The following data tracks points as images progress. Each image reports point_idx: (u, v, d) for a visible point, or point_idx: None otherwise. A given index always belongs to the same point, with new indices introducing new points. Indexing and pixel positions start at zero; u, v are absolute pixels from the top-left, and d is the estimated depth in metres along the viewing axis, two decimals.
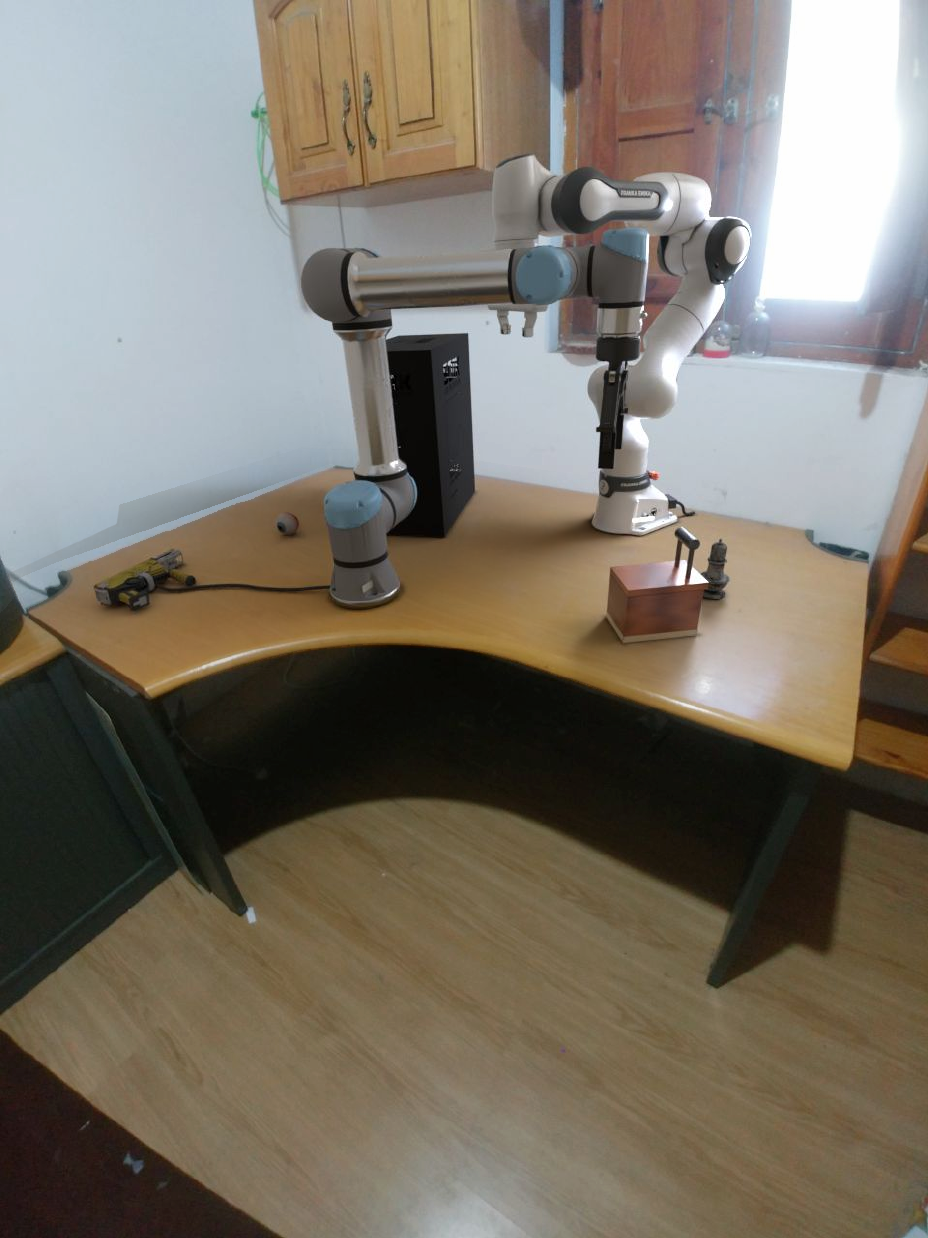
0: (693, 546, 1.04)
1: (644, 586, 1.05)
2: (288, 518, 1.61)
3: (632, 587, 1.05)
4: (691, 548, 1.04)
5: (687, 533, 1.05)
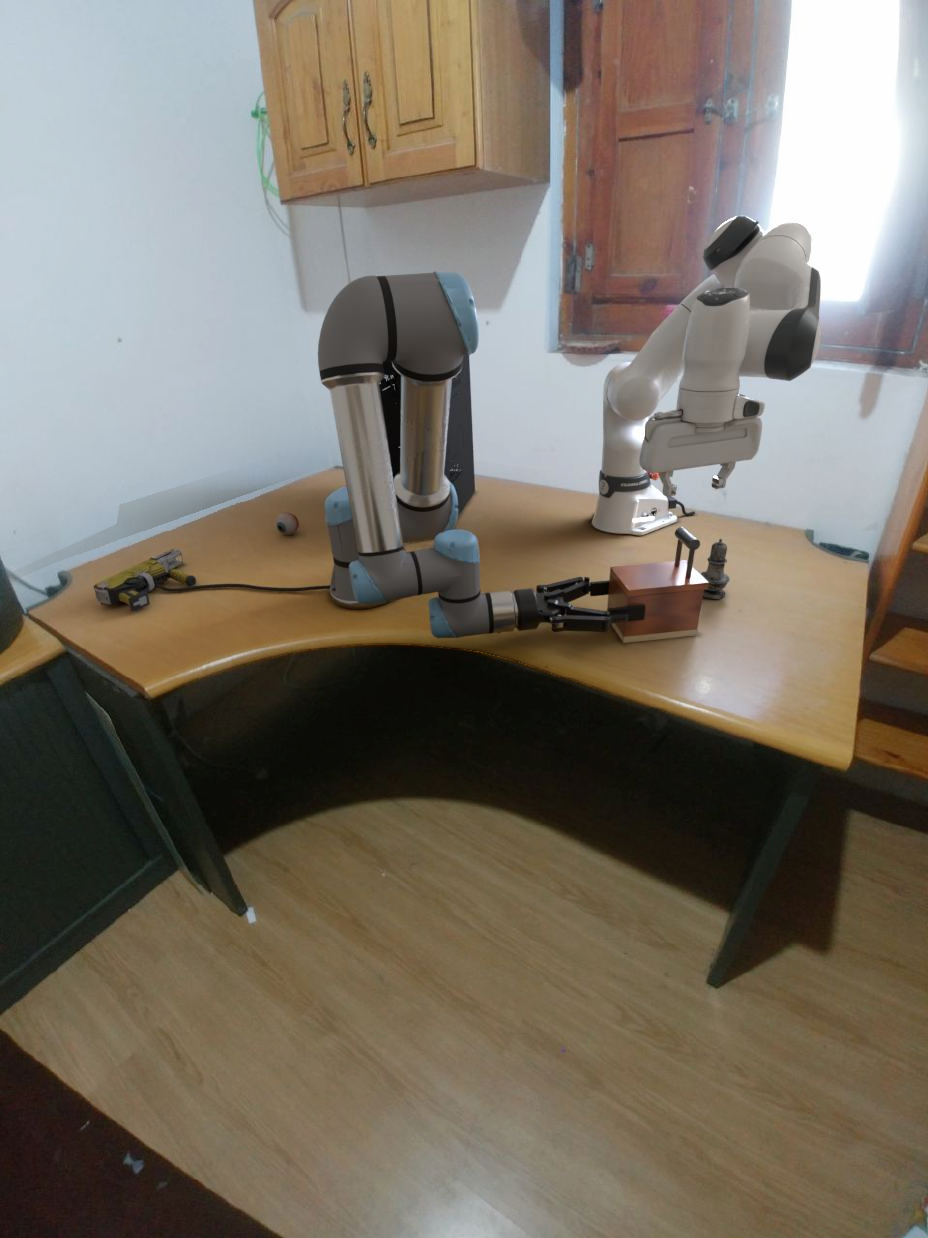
0: (694, 546, 1.04)
1: (644, 586, 1.05)
2: (288, 518, 1.61)
3: (632, 587, 1.05)
4: (691, 548, 1.04)
5: (687, 533, 1.05)
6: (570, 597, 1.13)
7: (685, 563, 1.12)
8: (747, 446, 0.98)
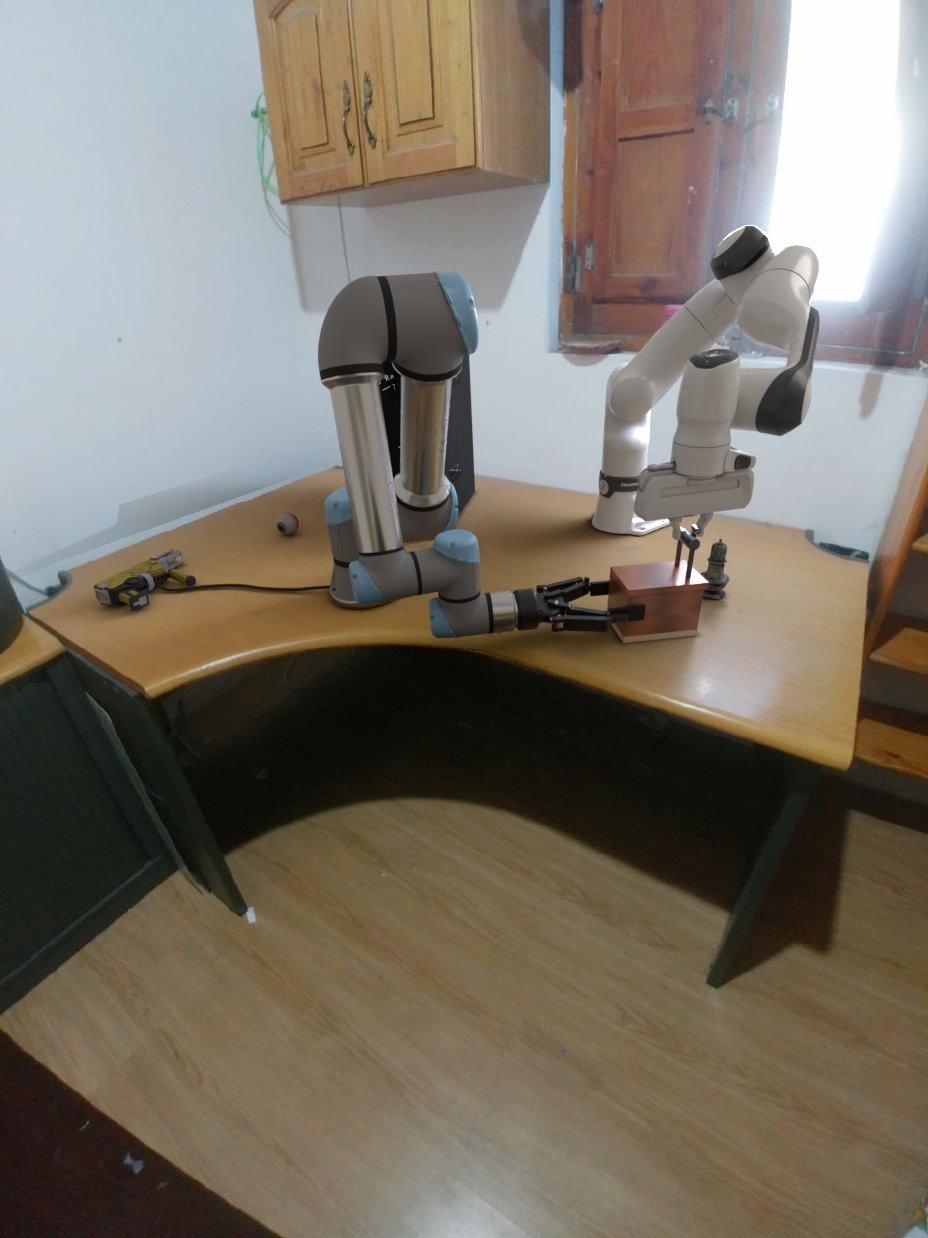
0: (694, 547, 1.04)
1: (644, 586, 1.05)
2: (288, 518, 1.61)
3: (632, 587, 1.05)
4: (691, 548, 1.04)
5: (687, 533, 1.05)
6: (570, 597, 1.13)
7: (685, 563, 1.12)
8: (740, 496, 1.02)
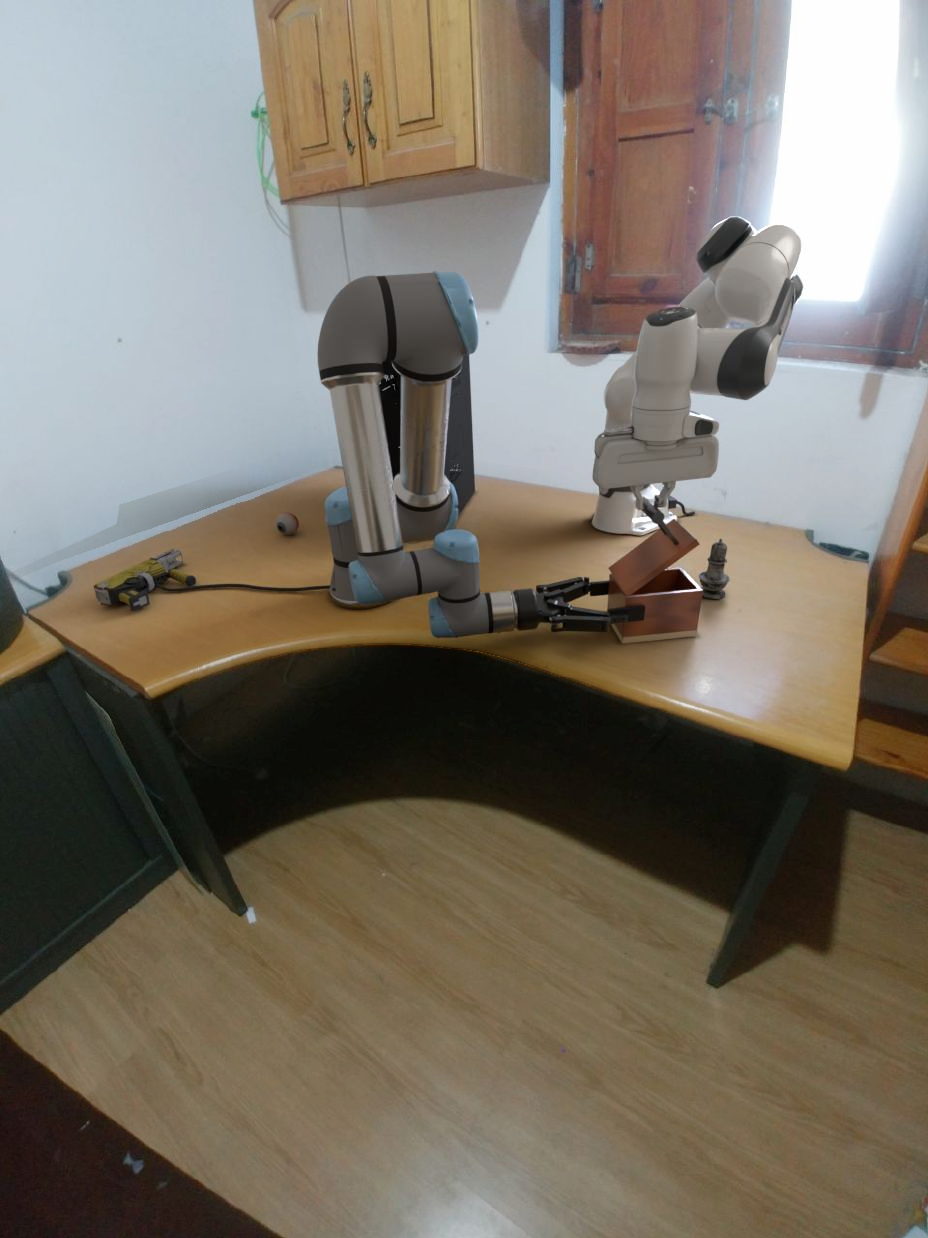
0: (659, 519, 1.00)
1: (637, 579, 1.04)
2: (288, 518, 1.61)
3: (627, 585, 1.05)
4: (658, 522, 1.00)
5: (648, 508, 1.02)
6: (570, 597, 1.13)
7: (674, 523, 1.08)
8: (704, 464, 0.98)
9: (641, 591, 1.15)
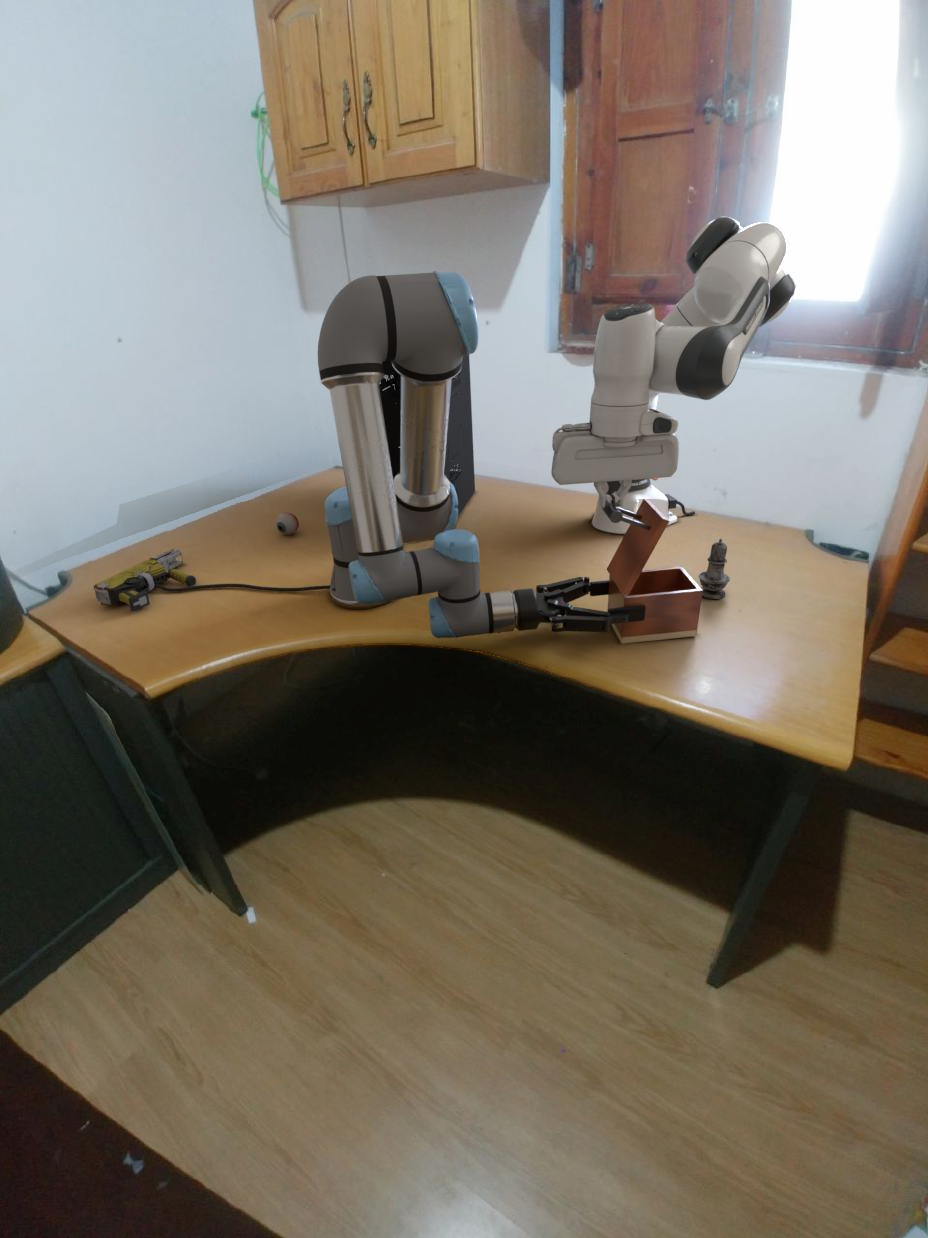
0: (618, 517, 0.99)
1: (628, 576, 1.04)
2: (288, 518, 1.61)
3: (622, 585, 1.05)
4: (618, 520, 0.99)
5: (606, 509, 1.01)
6: (570, 597, 1.13)
7: (644, 504, 1.05)
8: (664, 463, 0.97)
9: (641, 591, 1.15)
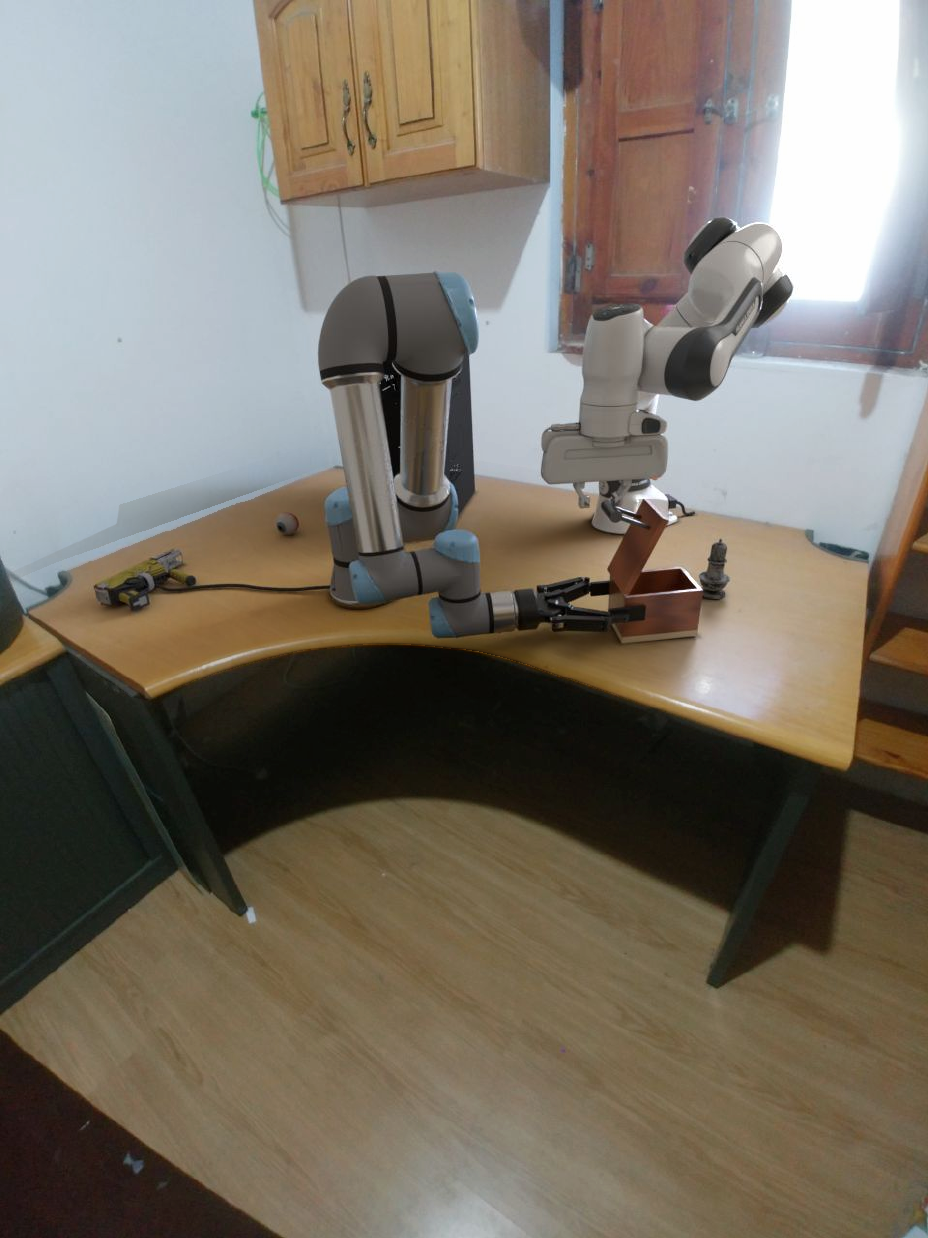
0: (618, 517, 0.99)
1: (628, 576, 1.04)
2: (288, 518, 1.61)
3: (623, 585, 1.05)
4: (618, 520, 1.00)
5: (605, 509, 1.01)
6: (570, 597, 1.13)
7: (644, 504, 1.05)
8: (654, 464, 0.97)
9: (642, 591, 1.15)
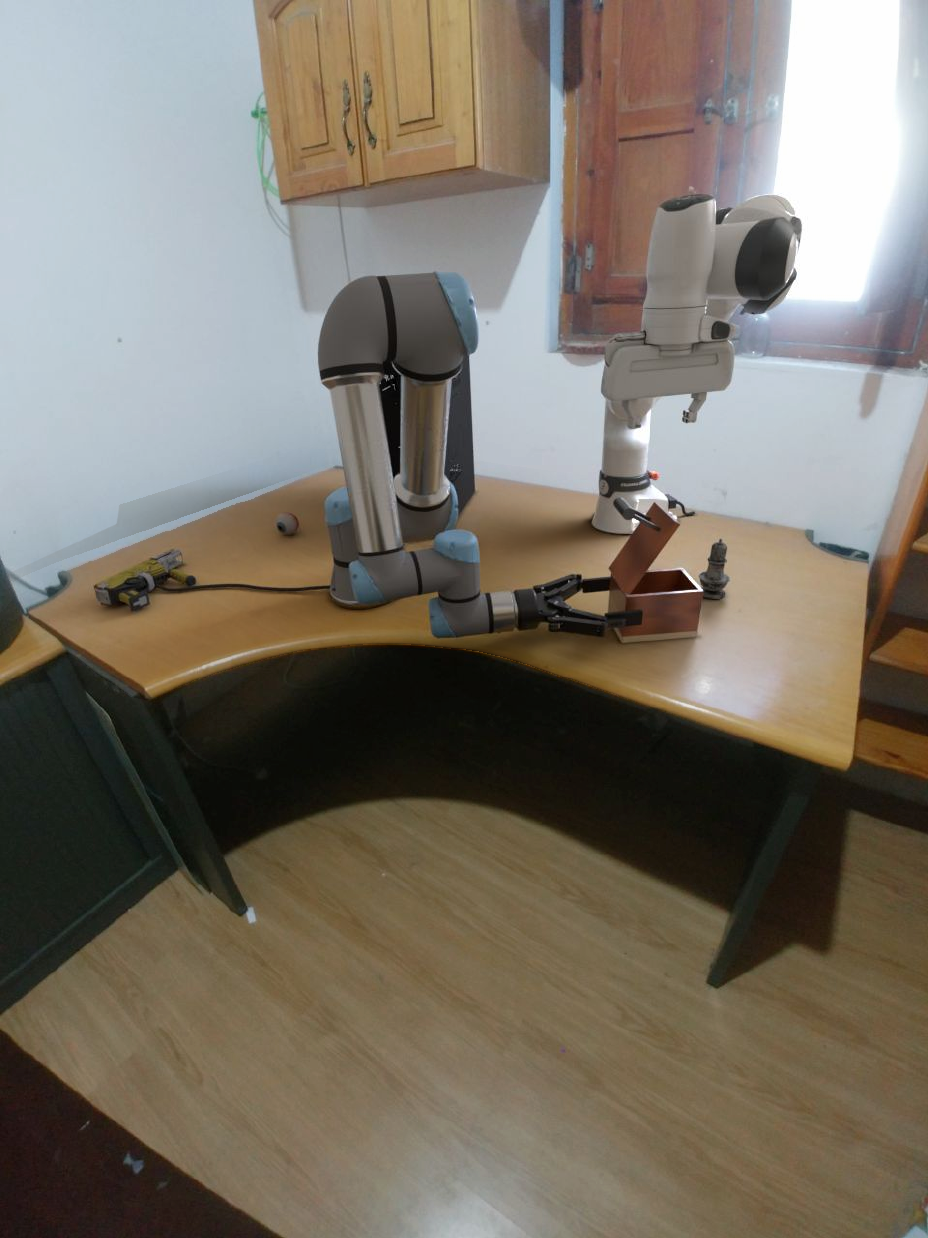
0: (630, 515, 1.00)
1: (632, 575, 1.04)
2: (288, 518, 1.61)
3: (625, 584, 1.05)
4: (630, 517, 1.00)
5: (618, 506, 1.02)
6: (566, 595, 1.14)
7: (655, 507, 1.06)
8: (719, 374, 0.92)
9: (642, 591, 1.15)
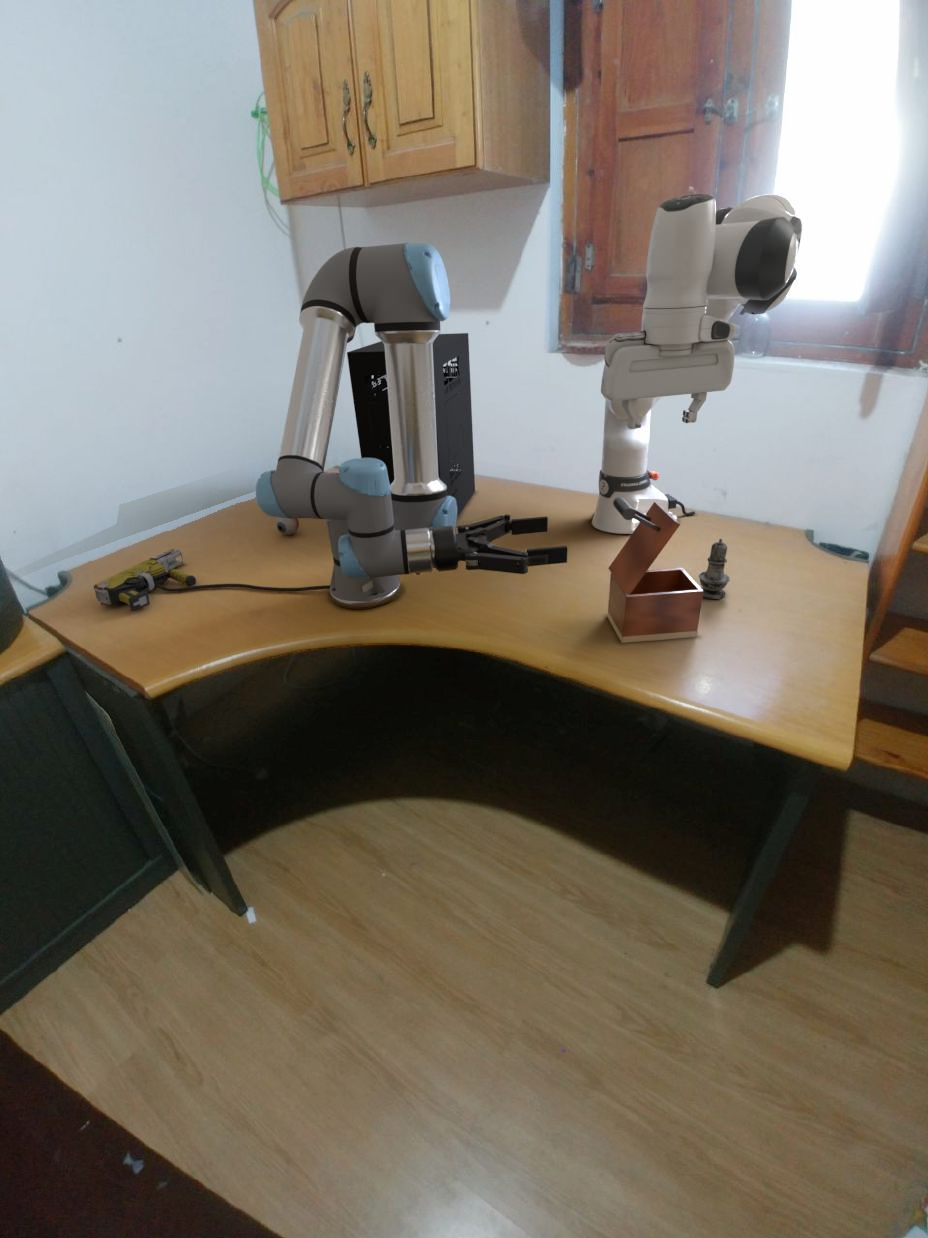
0: (631, 515, 1.00)
1: (632, 575, 1.04)
2: None
3: (625, 584, 1.05)
4: (630, 517, 1.00)
5: (619, 506, 1.02)
6: (492, 536, 1.06)
7: (655, 507, 1.06)
8: (719, 374, 0.92)
9: (642, 591, 1.15)
